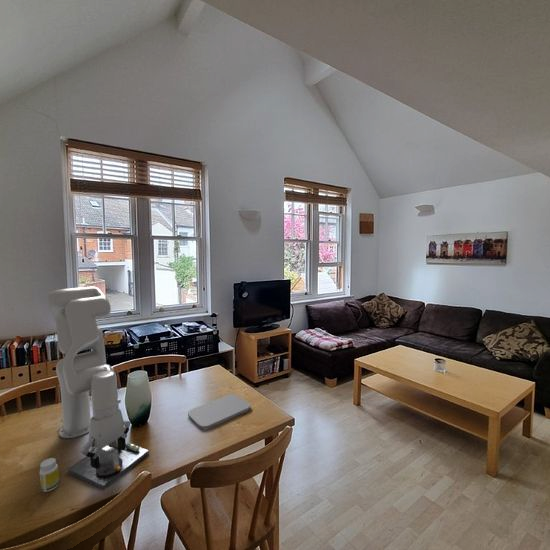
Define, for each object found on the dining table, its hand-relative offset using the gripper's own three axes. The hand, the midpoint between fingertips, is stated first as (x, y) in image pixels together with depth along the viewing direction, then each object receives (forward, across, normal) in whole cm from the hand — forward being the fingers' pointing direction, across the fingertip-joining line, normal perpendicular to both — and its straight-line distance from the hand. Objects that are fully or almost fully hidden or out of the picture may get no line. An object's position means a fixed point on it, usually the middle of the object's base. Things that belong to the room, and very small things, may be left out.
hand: (109, 457), depth 102 cm
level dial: (+4, 0, 0) cm, 4 cm away
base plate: (+5, -3, -4) cm, 8 cm away
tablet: (+6, -46, +12) cm, 48 cm away
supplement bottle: (+6, +12, -12) cm, 18 cm away
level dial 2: (+4, -8, -10) cm, 13 cm away
